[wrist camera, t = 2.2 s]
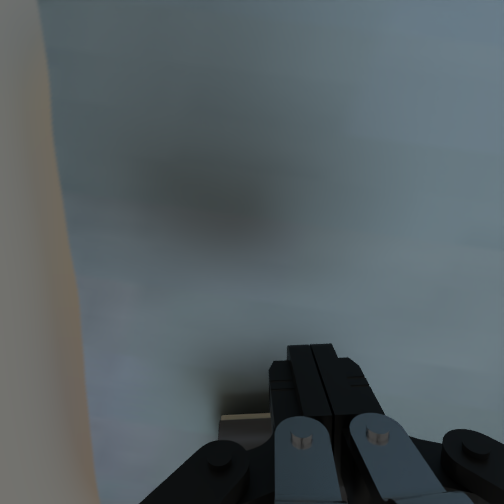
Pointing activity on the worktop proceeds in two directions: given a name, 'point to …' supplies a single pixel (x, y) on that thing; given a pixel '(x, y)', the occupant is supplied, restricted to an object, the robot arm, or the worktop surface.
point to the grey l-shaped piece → (250, 432)
